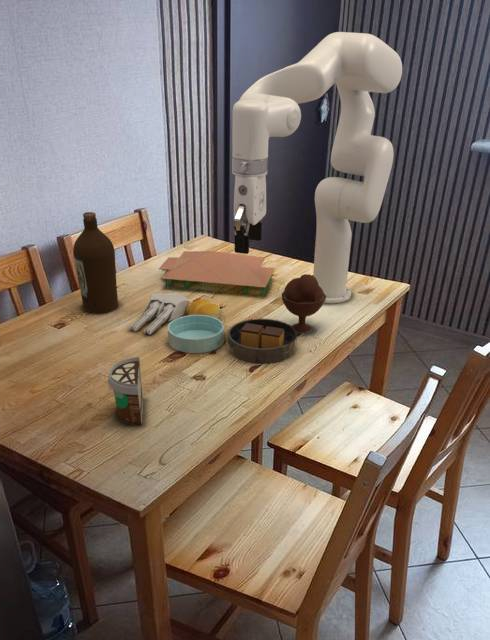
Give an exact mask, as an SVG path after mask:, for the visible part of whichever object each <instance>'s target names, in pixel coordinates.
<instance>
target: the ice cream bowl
mask: <svg viewBox="0 0 490 640" xmlns="http://www.w3.org/2000/svg"><path fill="white" fill-rule="evenodd" d="M280 294H281V295H280V296H281V300H282V303H283V305H284V306H285V308H286V310H287V311H288V312H289V313H290V314H292V315H294V316H297V317H298V321H297V322H298V323H295V324H293V325H291V326H292V327H293V328H294V329H295V330H296V332H297V334H298V333H299V334H305V333H309V332H311V331H312V330H313V328H312V326H311V325H310V324H308V323H306V320H307V319H306V318H307V317H310V316H312V315H315V314H316V313H317V312H319V310H320V309H321V308H322V307H323V306H324V304H325V303H324V302H325V299H326V295H325V294H324V292H323V290H322V288H321V287H320V286H319V284H318V281H317V279H316V278H315V277H314V276H313V274H310V273H307V274H306V273H305V274H302V275H300V276H299V277H296V278H292V279H291V280H290V281H289V282H288V283H287V284H286V285H285V287H284V290H283V292H282V293H280Z"/></svg>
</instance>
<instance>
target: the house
mask: <svg viewBox="0 0 490 640" xmlns="http://www.w3.org/2000/svg"><path fill="white" fill-rule="evenodd" d="M265 259H266V257H263V256H262V257H261V256H254V255H248V254H241V253H231V252H223V251H213V250H192V251H191V250H189V251H187V250H186V251H183V252H182V253H181V255H180V256H179V257H173V256H171V257H170V256H169V257H167V258H166V260H164V262H163V263H162V264H161V265H160V267H159V268H158V270H161V271H165V273H164V275H163V276H162V277H161V279H162V280H165V289H171V290H173V289H176V285H180V282H181V287H182V288H178V290H181V291H190V292H192V291H193V292H198V290H197V287H204V291H203V290H201V292H203V293H206V291H205V290H206V288H205V287H206V284H214V285H212V286H211V285H207V288H208V287H209V288H214V290H215V291H212V293H214V294H217V292H216V290H217V289H216V288H217V286H216V285H225V286H223V287H222V286H218V289H219V288H220V289H222V288H223V289H226V293H225V292H223V294H224V295H229V292H227V289H228V286H237V288H236V287H230V289H231V290H237V291H236V293H234V295H235V296H239V295H240V293H239V294H238V292H239V287H240V288H242V296H246V297H247V296H249V297H251V295H250V292H251V289H254V292H260V288H262V295H257V297H260V298H263V297H265V294H266V292H267V290H268V288H269V286H270V284H271V282H272V276H273V274H274V271H275V267H267V266H262V265H263V263H264V261H265ZM173 281H174V282H173ZM175 282H176V283H175ZM172 283H173V284H174V288H173V287H170V285H171V284H172ZM195 283H203V284H201V285H200V284H196V287H195ZM191 284H192V286H193V287H195V289H196V290H195V289H189V286H191ZM183 285H184V286H183ZM247 291H248V292H249V293H248V294H246V293H247Z"/></svg>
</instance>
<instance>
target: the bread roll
mask: <svg viewBox="0 0 490 640" xmlns="http://www.w3.org/2000/svg"><path fill="white" fill-rule="evenodd" d="M186 312H187V314H188V315H206V316H211V317H214V318H217V319H219V318H220V317H221V314H222V311H221V307H220V306H219V305H218V304H216V303H213V302H211V301H210V300H208V299H206V298H205V299H204V298H200V299H198V298H197V299H195V300H194V301H192V302H190V303H189V305H188V308H187V309H186Z"/></svg>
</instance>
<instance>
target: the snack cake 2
mask: <svg viewBox="0 0 490 640" xmlns="http://www.w3.org/2000/svg"><path fill="white" fill-rule="evenodd" d="M283 345H284V329H282V328H276V327H269V326H267V327H266V328H265V329H264V331H263V332H262V344H261V348H263V349H267V348H276V347H280V346H283Z"/></svg>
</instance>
